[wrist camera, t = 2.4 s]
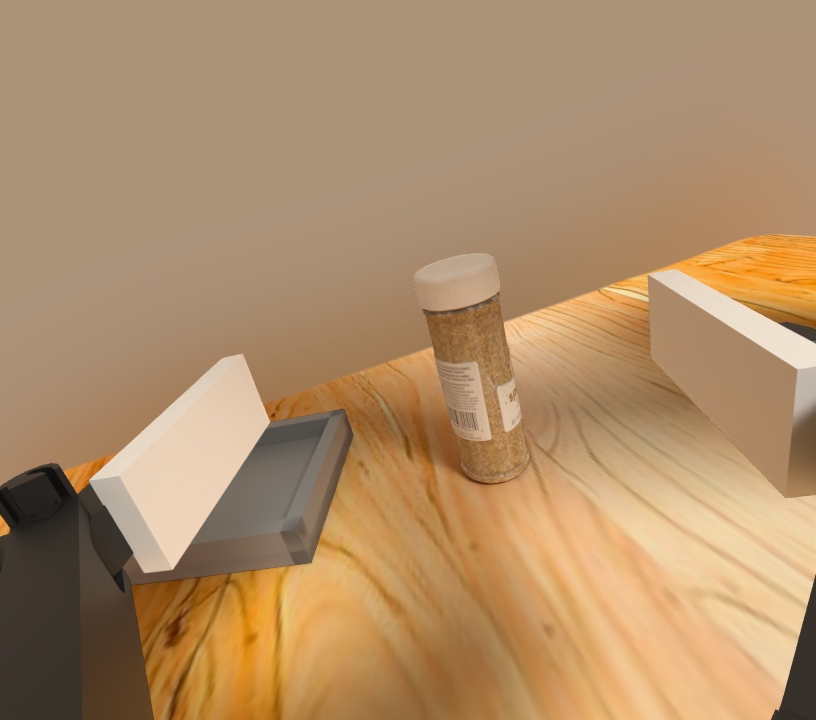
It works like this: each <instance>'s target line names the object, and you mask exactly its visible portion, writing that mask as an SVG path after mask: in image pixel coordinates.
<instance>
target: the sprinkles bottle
mask: <svg viewBox="0 0 816 720" xmlns="http://www.w3.org/2000/svg"><path fill="white" fill-rule="evenodd" d="M414 283H415V288H416V293H417V296H418V300H419V304H420V306H421V308H423V309H422V311H423V313H424V314H425V316H426V319H427V324H428V328H429V332H430V336H431V339H432V345H433V349H434V357H435V361H436V365H437V369H438V373H439V377H440V381H441V385H442V389H443V393H444V397H445V401H446V405H447V408H448V412H449V416H450V420H451V424H452V427H453V430H454V431H455V435H456V439H457V443H458V446H459V450H460V454H461V462H460V463H461V467H462V470H463V472H464V473H465V474H466V475H467V476H468V477H470V478H472V479H473V480H476V481H479V482H483V483H499V482H504V481H509V480H511V479H512V478H515V477H517V476H518V475H519V474H521V473H522V472H523V471H524V470H525V469H526V467H527V466H528V464H529V461H530V452H529V449H528V447H527V445H526V441H525V435H524V431H523V425H522V420H521V409H520V404H519V399H518V394H517V389H516V384H515V379H514V373H513V368H512V363H511V357H510V352H509V348H508V345H507V341H506V336H505V331H504V323H503V319H502V315H501V308H500V305H499V295H500V294H499V290H500V281H499V275H498V270H497V265H496V261H495V259H494V257H493V256H491V255H489V254H484V253H477V254H466V255H460V256H454V257H450V258H446V259H443V260H440V261H437V262H434V263H432V264H429V265H427V266H425V267H423V268H422V269H420V270H419V271H417V272H416V274H415V275H414Z"/></svg>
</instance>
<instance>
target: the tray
mask: <svg viewBox="0 0 816 720" xmlns="http://www.w3.org/2000/svg"><path fill="white" fill-rule="evenodd" d="M352 438H353V432H352V429H351V426H350V423H349V420H348V418H347V415H346V412H345V409H340V410H334V411H329V412H323V413H318V414H312V415H307V416H301V417H296V418H290V419H285V420H279V421H274V422H270V423H269V425H268V426H267V428H266V429H265V431H264V432H263V434H262V435H261V437H260V438H259V440H258V441H257V443H256V444H255V446H254V447H253V449H252V450H251V452H250V453H249V455H248V457H247V458H246V460H245V461H244V463H243V464H242V466H241V467H240V469H239V470H238V472H237V473H236V475H235V476H234V478H233V479H232V481H231V482H230V484H229V485H228V487H227V488H226V490H225V491H224V493H223V494H222V496H221V497H220V499H219V500H218V502H217V504H216V505H215V507H214V508H213V510H212V511H211V513H210V514H209V516H208V517H207V519H206V520H205V522H204V523H203V525H202V526H201V528H200V529H199V531H198V532H197V534H196V535H195V537H194V538H193V540H192V541H191V543H190V544H189V546H188V547H187V549H186V551H185V552H184V554H183V555H182V557H181V558H180V560H179V561H178V563H177V564H176V566H175V567H174V569H173V570H167V571H158V572H150V573H144V572H143V570H142V568H141V567H140V565H139V564H138V562H137V560H136V559H135V557H134V555H132V556H131V557H130V558H129V560H128V561H127V562H126V564H125V565H124V566H123V568H124V570H125V572H126V573H127V575H128V576H129V578H130V580H131V585H137V584H146V583H154V582H162V581H170V580H178V579H186V578H194V577H202V576H210V575H218V574H226V573H234V572H242V571H250V570H259V569H267V568H275V567H283V566H291V565H299V564H307V563H311V562H312V559H313V556H314V553H315V550H316V547H317V544H318V541H319V538H320V535H321V532H322V529H323V526H324V523H325V520H326V517H327V514H328V511H329V507H330V504H331V501H332V498H333V495H334V492H335V489H336V486H337V483H338V480H339V477H340V474H341V471H342V468H343V465H344V462H345V459H346V456H347V453H348V450H349V447H350V444H351V441H352Z"/></svg>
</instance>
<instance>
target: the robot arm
mask: <svg viewBox="0 0 816 720" xmlns="http://www.w3.org/2000/svg"><path fill="white" fill-rule="evenodd" d="M648 293H649V320H650V346H651V359H652V360H653V361H654V362H655V363H656V364H657V365H658V366H659V367H660V368H661V369H662V370H663V371H664V372H665V373H666V374H667V375H668V376H669V377H670V378H671V379H672V381H673V382H674V383H675V384H676V385H677V386H678V387H679V388H680V389H681V390H682V391H683V392H684V393H685V394H686V395H687V396H688V397H689V398H690V399H691V400H692V401H693V402H694V403H695V404H696V406H697V407H698V408H699V409H700V410H701V411H702V412H703V413H704V414H705V415H706V416H707V417H708V418H709V419H710V420H711V421H712V422H713V423H714V424H715V425H716V426H717V427H718V428H719V429H720V431H721V432H722V433H723V434H724V435H725V436H726V437H727V438H728V439H729V440H730V441H731V442H732V443H733V444H734V445H735V446H736V447H737V448H738V449H739V450H740V451H741V452H742V453H743V454H744V456H745V457H746V458H747V459H748V460H749V461H750V462H751V463H752V464H753V465H754V466H755V467H756V468H757V469H758V470H759V471H760V472H761V473H762V474H763V475H764V476H765V477H766V478H767V479H768V481H769V482H770V483H771V484H772V485H773V486H774V487H775V488H776V489H777V490H778V491H779V492H780V493H781V494H782V495H783V496H784V497H785V498H791V497H800V496H808V495H816V330H815V329H813V328H810V327H806V326H801V325H797V324H793V323H789V322H783V323H776V322H774V321H772V320H770V319H768V318H767V317H765V316H763V315H761V314H759V313H757V312H755V311H753V310H752V309H750V308H748V307H746V306H744V305H742V304H740V303H738V302H737V301H735V300H733V299H731V298H729V297H727V296H725V295H723V294H721V293H720V292H718V291H716V290H714V289H712V288H710V287H708V286H706V285H705V284H703V283H701V282H699V281H697V280H695V279H693V278H691V277H690V276H688V275H686V274H684V273H682V272H680V271H678V270H676V269H672V270H667V271H662V272H657V273H652V274H648ZM269 423H270V421H269V418H268V416H267V413H266V411H265V408H264V406H263V403H262V401H261V398H260V396H259V393H258V391H257V388H256V386H255V383H254V381H253V378H252V376H251V373H250V371H249V368H248V366H247V363H246V361H245V358H244V356H243V354H240V355H235V356H229V357H225V358H222V359H221V360H220V361H218V362H217V363H216V364H215V365H214V366H213V367H212V368H211V369H210V370H209V371H208V372H206V373H205V374H204V375H203V376H202V377H201V378H200V379H199V380H198V381H197V382H196V383H194V385H192V386H191V387H190V388H189V389H188V390H187V391H186V392H185V393H184V394H182V395H181V396H180V397H179V398H178V399H177V400H176V401H175V402H174V403H173V404H172V405H171V406H169V407H168V408H167V409H166V410H165V411H164V412H163V413H162V414H161V415H160V416H158V418H156V419H155V420H154V421H153V422H152V423H151V424H150V425H149V426H148V427H146V428H145V429H144V430H143V431H142V432H141V433H140V434H139V435H138V436H137V437H136V438H135V439H133V440H132V441H131V442H130V443H129V444H128V445H127V446H126V447H125V448H124V449H123V450H121V451H120V452H119V453H118V454H117V455H116V456H115V457H114V458H113V459H112V460H110V461H109V462H108V463H107V464H106V465H105V466H104V467H103V468H102V469H101V470H100V471H98V472H97V473H96V474H95V475H94V476H93V477H92V478H91V479H90V480H89V482H90V483H89V484H88V485H87V486H86V487H85V488H84V489H82V490H81V491H80V492H79V493H78V494H77V493H76V491H75V490H74V488H73V487H72V485H71V483H70V482H69V480H68V479H67V477H66V475H65V474H64V472H63V471H62V469H61V467H60V466H59V465H58V464H52V463H51V464H47V465H42V466H39V467H36V468H33V469H31V470H28V471H26V472H24V473H22V474H20V475H18V476H16V477H14V478H12V479H11V480H9V481H8V482H6V483H4V484H3V485H2V486H0V515H1V516H2V517H3V519H4V520H5V522H6V523H7V524H8V526H9V527H10V532H9V534H7V535H4V536H1V537H0V720H154V717H153V711H152V705H151V699H150V693H149V687H148V681H147V675H146V670H145V664H144V658H143V652H142V646H141V640H140V634H139V628H138V622H137V616H136V610H135V604H134V598H133V592H132V586H131V580H130V578H129V576H128V575H127V573H126V572H125V570H124V568H123V566H124V565H125V564H126V562H127V561H128V560H129V558H130V557H131V556H132V555H134V557H135V559H136V560H137V562H138V564H139V565H140V567H141V568H142V570H143V572H144V573H150V572H158V571H167V570H173V569H174V567H175V566H176V564H177V563H178V561H179V560H180V558H181V557H182V555H183V554H184V552H185V551H186V549H187V547H188V546H189V544H190V543H191V541H192V540H193V538H194V537H195V535H196V534H197V532H198V531H199V529H200V528H201V526H202V525H203V523H204V522H205V520H206V519H207V517H208V516H209V514H210V513H211V511H212V510H213V508H214V507H215V505H216V504H217V502H218V500H219V499H220V497H221V496H222V494H223V493H224V491H225V490H226V488H227V487H228V485H229V484H230V482H231V481H232V479H233V478H234V476H235V475H236V473H237V472H238V470H239V469H240V467H241V466H242V464H243V463H244V461H245V460H246V458H247V457H248V455H249V453H250V452H251V450H252V449H253V447H254V446H255V444H256V443H257V441H258V440H259V438H260V437H261V435H262V434H263V432H264V431H265V429H266V428H267V426H268V425H269ZM771 720H816V575H815V579H814V583H813V587H812V591H811V594H810V598H809V602H808V606H807V609H806V613H805V617H804V621H803V624H802V628H801V632H800V636H799V639H798V643H797V647H796V651H795V655H794V658H793V662H792V666H791V670H790V673H789V677H788V681H787V685H786V688H785V692H784V696H783V699H782V703H781V706H780V708H779V711H778V710H775V712H774V714H773V716H772V719H771Z"/></svg>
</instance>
